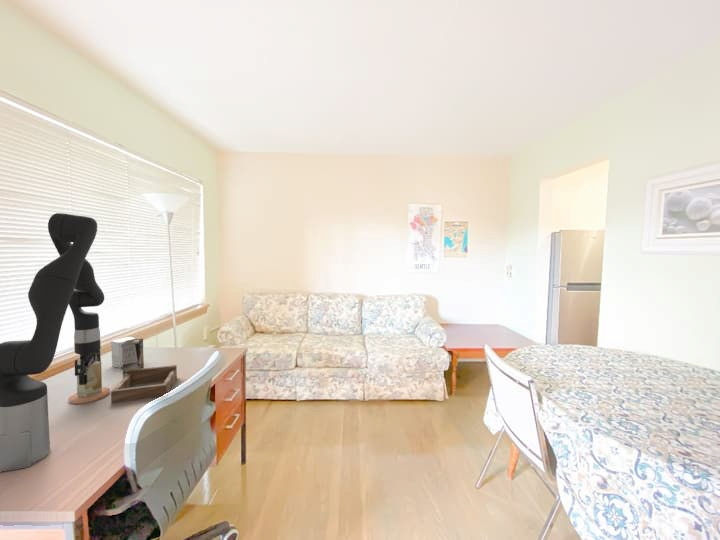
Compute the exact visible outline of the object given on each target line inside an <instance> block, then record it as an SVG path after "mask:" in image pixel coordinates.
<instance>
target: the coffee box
mask: <svg viewBox="0 0 720 540" xmlns="http://www.w3.org/2000/svg"><path fill="white" fill-rule="evenodd" d="M144 363H145V362H144V338H136V339H133V340H127V341H126V342H125V343H124V344H123V345H122V364H123V367H122V380H123V379H124V378H125V377H126V376H127V375H128V370H132V369H142V368H145V365H144Z"/></svg>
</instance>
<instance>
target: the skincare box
mask: <svg viewBox="0 0 720 540" xmlns="http://www.w3.org/2000/svg"><path fill="white" fill-rule="evenodd" d="M78 371H79V369H78ZM102 374H103V373H102V361H101V362H99V361H97V362H95V361H94V362H93V363H92V364H91V367H90V369H88V372H87V384H85V385H79V376H76V393H77V397H85V398H86V397H88V396H91V395H93V394H96V393H98V392H101V391H102V387H103V383H102V377H103V376H102Z"/></svg>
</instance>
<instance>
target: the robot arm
mask: <svg viewBox="0 0 720 540" xmlns="http://www.w3.org/2000/svg"><path fill="white" fill-rule="evenodd" d="M47 229H48V233H49V236H50V239H51V241H52V243H53V246H54V247H55V249H56V251H57V253H58V254H59V257H56V258H55V259H54V260H52V261H50V262H49V263H47V264H45V265H44V266H43V267H42V268H40V269H39V270H38V271H37V272H36V273H35V276H34V278H33V279H32V282H31V285H30V287H29V289H28V293H27V297H28V302H29V303H30V306H31V308H32V309H31V310H32V311H33V312H34V315H35V318H36V325H35V326H36V327H35V329H34V333H33V336H32V338H31V339H30V340H29V339H27V340H9V341H4V342H1V343H0V473H3V472H2V471H4V472H8V471H15V470H19V469H25V468H29V467H31V466H32V465H34V464H36V463H38V462H39V461H41V460H42V459H44V458H45V457H47V456H48V455H49V454H50V452H51V439H50V422H49V399H48V398H49V397H48V385H47V384H46V382H45V381H44V382H43V381H41V380H37V379H34V378H32V377H31V376H32V375H40V374H42V373H44V372H45V371H46V370H47V369H48V368H49V367H50V366H51V364H52V362H53V361H54V357H55V355H56V351H57V347H58V342H59V337H60V334H61V329H62V325H63V322H64V318H65V316H66V313H67V310H68V307H69V308H70V311H71V312H72V316H73V319H74V320H73V321H74V323H73V324H74V334H73V339H74V345H73V346H74V354H77V355H79V359H75V360H74V376H76V377H77V376H79V385H85V384H87V372H88V369H90V367H91V364H92V363H93V362H94V361H95V362H97V361H99V362H101V363H102V360H101V347H102V346H101V329H100V317H99V313H97V312H93V311H85V310H84V309H83V308H89V307H99V306H100V305H102V304H103V303H104V301H105V294H104V292H103V290H102V288H101V287H100V286H99V285H98V283H97V281H96V278H95V272H94V267H93V266H92V264H91V263H90V262H89V260H88V259H86V258H87V256H88V253H89V251H90V249H91V247H92V246H93V244H94V241H95V239H96V236H97V233H98V222H97V221H96V219H94V218H93V217H89V216H85V215H78V214H70V213H65V212H63V213H61V212H57V213H54V214H52V215H51V216H50V217H49V219H48V224H47ZM78 369H79V371H78Z"/></svg>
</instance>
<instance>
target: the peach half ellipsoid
mask: <svg viewBox="0 0 720 540" xmlns="http://www.w3.org/2000/svg"><path fill="white" fill-rule="evenodd" d="M109 394H111V388H109V387H106V386H102V391H101V392H98V393H96V394H93V395H91V396H88V397H86V398H85V397H77V392H76V393H74V394H72V395H70V397H68V402H69V403H70V404H73V405H82V404H83V405H84V404H88V403H93V402H95V401H99V400H101V399H103V398H105V397H107V396H109Z"/></svg>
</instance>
